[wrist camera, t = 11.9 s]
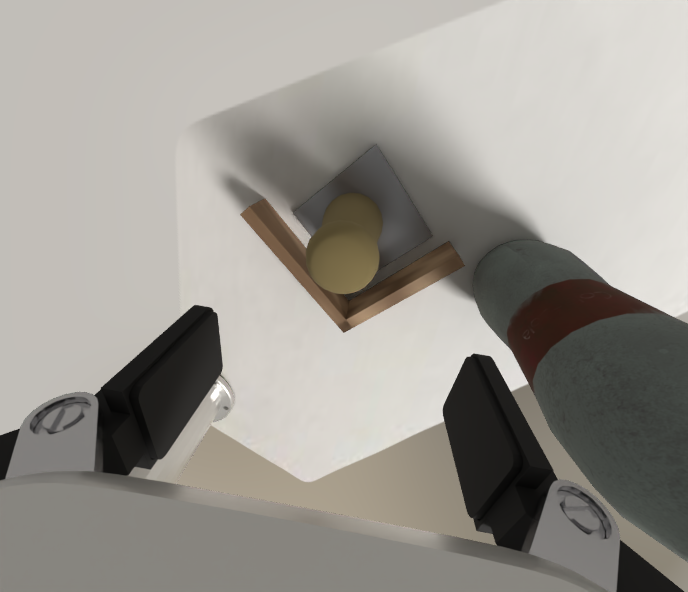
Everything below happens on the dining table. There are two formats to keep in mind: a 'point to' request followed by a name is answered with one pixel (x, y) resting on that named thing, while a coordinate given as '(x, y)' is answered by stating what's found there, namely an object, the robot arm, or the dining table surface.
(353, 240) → the cork
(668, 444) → the bottle
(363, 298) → the corner arena
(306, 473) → the dining table surface
